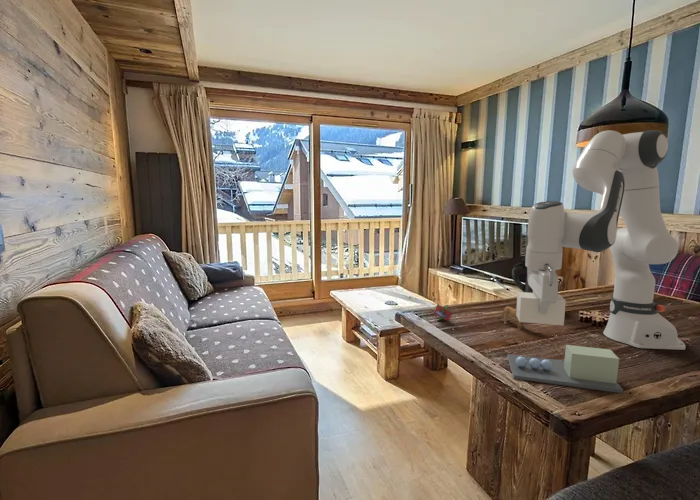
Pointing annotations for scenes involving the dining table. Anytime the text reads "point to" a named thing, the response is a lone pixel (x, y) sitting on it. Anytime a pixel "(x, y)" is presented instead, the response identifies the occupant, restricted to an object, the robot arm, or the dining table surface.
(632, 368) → the dining table surface
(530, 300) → the beige eraser-shaped brick
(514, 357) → the slate board
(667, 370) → the dining table surface
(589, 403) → the dining table surface
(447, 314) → the geometric puzzle
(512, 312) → the lion figurine
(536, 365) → the marble
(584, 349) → the pale green prism
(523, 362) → the marble
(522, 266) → the beer stein
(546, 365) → the marble
